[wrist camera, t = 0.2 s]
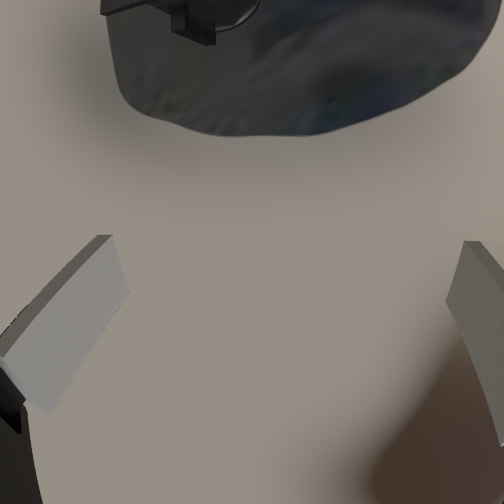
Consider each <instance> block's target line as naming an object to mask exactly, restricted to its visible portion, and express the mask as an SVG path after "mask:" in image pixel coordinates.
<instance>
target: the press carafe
mask: <svg viewBox="0 0 504 504" xmlns="http://www.w3.org/2000/svg"><path fill="white" fill-rule="evenodd" d="M260 1H261V0H101V9H100V14H101V15H104V16H109V15H112V14H115V13H118V12H121V11H124V10H127V9H131V8H134V7H137V6H141V5H144V4H149V5H151V6H153V7H155V8H158V9H160V10H162V11H164V12H166V13H168V14H170V15H171V32H174V33H176V34H179V35H181V36H183V37H186V38H188V39H191V40H193V41H195V42H198V43H200V44H202V45H204V46H208V45H216V32H224V31H227V30H231V29H233V28H236V27H238V26H240V25H241V24H243V23H244V22H246V21H247V20H248V19H249V18H250V17H251V16H252V15H253V14H254V13H255V11H256V10H257V8H258V6H259V4H260Z"/></svg>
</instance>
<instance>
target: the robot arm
mask: <svg viewBox="0 0 504 504" xmlns="http://www.w3.org/2000/svg"><path fill="white" fill-rule="evenodd" d="M129 293H130V290H129V287H128V285H127V282H126V278H125V275H124V272H123V269H122V265H121V262H120V259H119V255H118V252H117V248H116V245H115V242H114V238H113V235H97V236H96V237H95V238H94V239H93V240H92V241H91V242H90V243H88V244H87V245H86V246H85V247H84V248H83V249H82V250H81V251H80V252H79V253H78V254H77V255H76V256H75V257H74V258H73V259H72V260H71V261H70V262H69V263H68V264H67V265H66V266H65V267H64V268H63V269H62V270H61V271H60V272H59V273H58V274H57V275H56V276H55V277H54V278H53V279H52V280H51V281H50V282H49V283H48V284H47V285H46V286H45V287H44V288H43V290H42V291H41V292H40V293H39V294H38V295H37V296H36V297H35V298H34V299H33V300H32V302H30V304H28V305H27V306H26V307H25V308H24V309H23V310H22V311H21V312H20V313H19V315H18V316H17V318H15V319H14V320H13V322H12V323H11V325H10V326H8V327H7V329H6V330H5V331H4V332H3V333H2V334H1V336H0V504H43V502H42V498H41V494H40V490H39V485H38V481H37V476H36V471H35V466H34V460H33V454H32V448H31V441H30V433H29V425H28V414H27V410H26V408H25V407H24V405H23V403H24V402H25V400H27V401H28V402H29V403H30V404H31V405H32V407H33V408H34V409H35V410H36V411H38V412H41V413H43V414H45V415H47V416H49V417H51V416H52V415H53V413H54V411H55V409H56V407H57V406H58V404H59V402H60V401H61V399H62V397H63V396H64V394H65V392H66V390H67V389H68V387H69V385H70V384H71V382H72V380H73V379H74V377H75V375H76V374H77V372H78V370H79V369H80V367H81V366H82V364H83V362H84V361H85V359H86V358H87V356H88V354H89V353H90V351H91V350H92V348H93V347H94V345H95V343H96V342H97V340H98V339H99V337H100V336H101V334H102V333H103V331H104V330H105V328H106V327H107V325H108V324H109V322H110V321H111V319H112V317H113V316H114V315H115V313H116V312H117V310H118V309H119V307H120V306H121V304H122V303H123V302H124V300H125V299H126V297H127V296H128V294H129ZM446 303H447V305H448V307H449V309H450V311H451V314H452V316H453V318H454V320H455V322H456V324H457V326H458V328H459V331H460V333H461V335H462V337H463V340H464V342H465V345H466V347H467V349H468V352H469V354H470V357H471V359H472V362H473V364H474V367H475V369H476V372H477V374H478V377H479V380H480V382H481V385H482V388H483V391H484V393H485V397H486V399H487V402H488V405H489V408H490V411H491V415H492V418H493V421H494V424H495V428H496V432H497V435H498V439H499V443H500V446H503V445H504V270H503V269H502V268H501V266H500V265H499V264H498V263H497V261H496V260H495V259H494V258H493V257H492V255H491V254H490V253H489V252H488V250H487V249H486V248H485V247H484V246H483V245H482V243H481V242H478V241H464V244H463V247H462V251H461V254H460V258H459V261H458V265H457V268H456V272H455V275H454V278H453V281H452V284H451V287H450V290H449V293H448V296H447V299H446ZM502 504H504V501H503V503H502Z"/></svg>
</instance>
